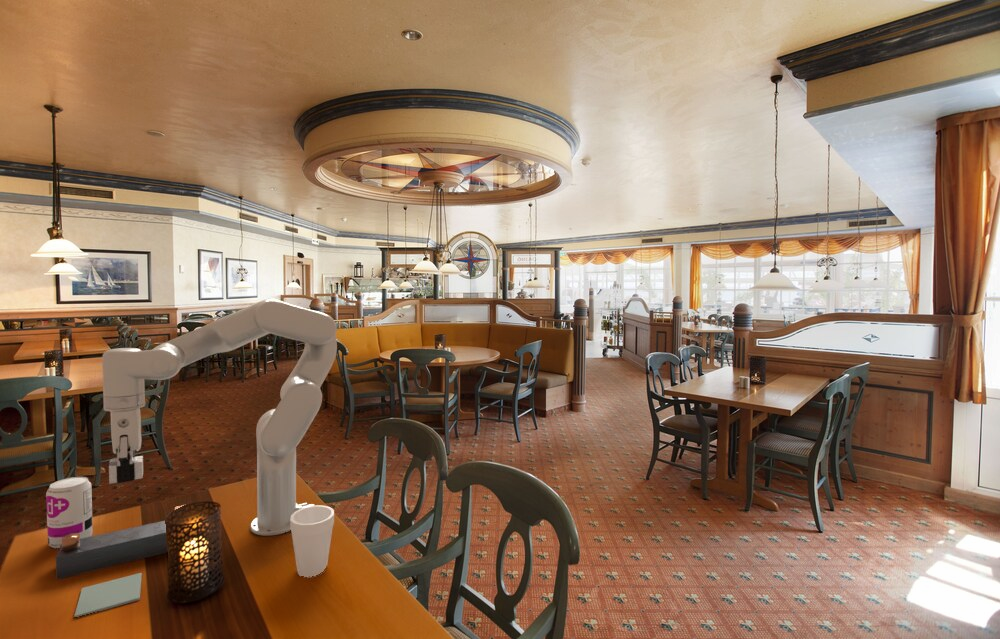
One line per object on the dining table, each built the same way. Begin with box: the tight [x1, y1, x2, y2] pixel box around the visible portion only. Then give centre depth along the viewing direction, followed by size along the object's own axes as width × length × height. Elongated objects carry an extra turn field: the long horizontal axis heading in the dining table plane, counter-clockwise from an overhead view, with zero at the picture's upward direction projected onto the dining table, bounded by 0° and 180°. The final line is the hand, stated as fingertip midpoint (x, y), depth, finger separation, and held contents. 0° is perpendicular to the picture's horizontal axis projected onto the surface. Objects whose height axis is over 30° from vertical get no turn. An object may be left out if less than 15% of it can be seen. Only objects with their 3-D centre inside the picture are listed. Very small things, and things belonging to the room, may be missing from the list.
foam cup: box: [290, 504, 335, 578], centre depth 107 cm, size 10×9×13 cm
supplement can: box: [45, 476, 94, 550], centre depth 116 cm, size 8×8×15 cm
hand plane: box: [55, 504, 185, 580], centre depth 111 cm, size 24×7×9 cm, turn 126°
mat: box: [73, 572, 143, 617], centre depth 97 cm, size 10×10×1 cm
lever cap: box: [108, 455, 144, 485], centre depth 110 cm, size 6×4×5 cm
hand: (126, 476), depth 110 cm, fingers closed on lever cap, 4 cm apart
